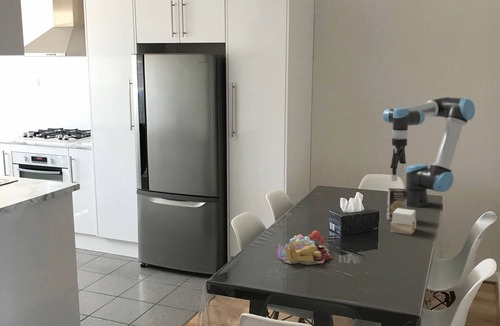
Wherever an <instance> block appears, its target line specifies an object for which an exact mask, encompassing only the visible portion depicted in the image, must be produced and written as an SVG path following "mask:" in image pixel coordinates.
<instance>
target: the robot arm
mask: <svg viewBox="0 0 500 326" xmlns="http://www.w3.org/2000/svg"><path fill="white" fill-rule="evenodd" d="M475 113H476V108H475V104H474V102H473V100H472V99H469V98H464V97H462V98H461V97H460V98H459V97H448V96H447V97H446V96H445V97H440V98H435V99H430V100H428V101H426V102H423V103H418V104H413V105H409V106H403V107H395V108H385V110H384V111H383V114H382V119H383V120H384V122H387V123H389V124H391V123H392V131H391V133H392V136H391V137H392V139H391V145H392V146H393V147H395V148H393V151H392V158H391V164H390V167H389V168H390V169H391V182H398V176H400V177H404V176H405V177H406V178H405V189H406V190H407V207H413V208H414V207H417V208H418V207H419V208H420V207H423V208H424V207H427V206H430V199H429V195H428V192H427V190H431V191H435V192H439V193H440V192H441V193H446V192H447V191H449V190H450V189H451V187H452V186H453V183H454V175H453V173H452V171H453V170H452V168H451V165H452V161H453V158H454V156H455V153H456V152H455V151H456V149H457V146H458V143H459V139H460V135H461V133H462V130H463V127H465V126H466V125H467V123H468V121H471V120H473V118H474V116H475ZM427 117H430V118H434V117H439V118H445V121H446V125H445V128H444V131H443V134H442V138H441V141H440V144H439V146H438V150H437V153H436V156H435V159H434V162H433V163H431V164H430V167H429V165H428V164H424V163H420V164H409V165H408V166H407V167H406V172H405V165H406V164H407V159H406V147H407V145H408V139H407V138H408V134H409V133H408V132H409V131H408V129H409V126H419V125H422V124H423V123H424V122H425V119H426V118H427ZM405 173H406V175H405Z"/></svg>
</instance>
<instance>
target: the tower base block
mask: <svg viewBox="0 0 500 326" xmlns="http://www.w3.org/2000/svg"><path fill="white" fill-rule="evenodd" d="M415 229H417V219H415V221H414V222H413V223H412V224H411V225H407V224H400V223H393V222H392V221H391V222H390V233H399V234H403V235H411V236H412V235H413V233H414V232H415V231H416V230H415Z"/></svg>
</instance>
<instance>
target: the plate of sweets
mask: <svg viewBox="0 0 500 326" xmlns="http://www.w3.org/2000/svg"><path fill="white" fill-rule="evenodd" d="M324 239H325V238H324V237H323V236H321V232H320V231H319V230H313V231H312V232H311V234H308V236H303V235H302V234H298V235H294V236H293V238H290V239H289V243H285V245H283V244H282V243H281V244H280V243H279V244H278V249H277V252H276V257H277V259H279V260H280V261H282V262H284V263H286V264H290V265H291V264H303V265H308V266H309V265H317V264H323V263H325V262H329V260H332V255H331V254H330V252H329V249H328V248H327V247H326V242H325V241H324ZM315 241H317V242H318V243H320V245H319V244H317V243H315Z"/></svg>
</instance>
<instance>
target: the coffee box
mask: <svg viewBox="0 0 500 326" xmlns="http://www.w3.org/2000/svg"><path fill="white" fill-rule="evenodd" d="M387 189H388V190H387V203H386V204H387V205H386V219H387V220H388V221H392V213H393V212H394V211H395V210H396V209H397V208H401V209H407V207H408V205H407V190H406V188H398V187H397V188H395V187H394V188H393V187H390V188H387Z"/></svg>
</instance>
